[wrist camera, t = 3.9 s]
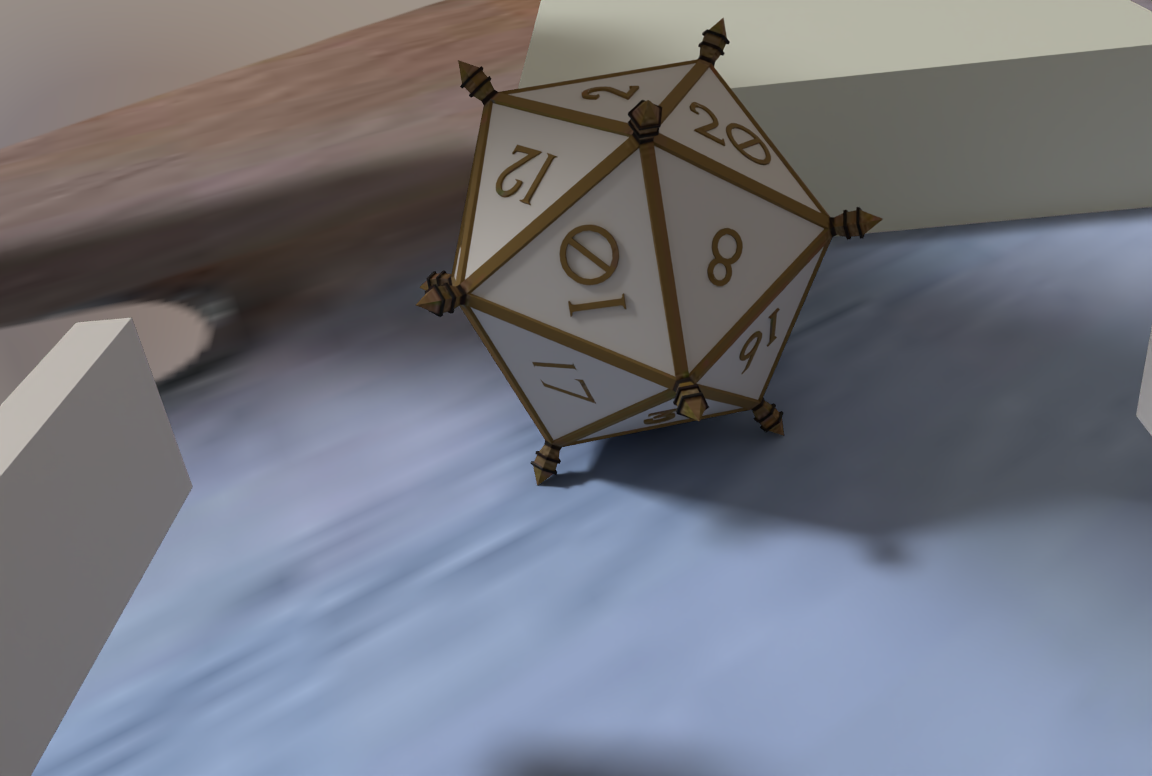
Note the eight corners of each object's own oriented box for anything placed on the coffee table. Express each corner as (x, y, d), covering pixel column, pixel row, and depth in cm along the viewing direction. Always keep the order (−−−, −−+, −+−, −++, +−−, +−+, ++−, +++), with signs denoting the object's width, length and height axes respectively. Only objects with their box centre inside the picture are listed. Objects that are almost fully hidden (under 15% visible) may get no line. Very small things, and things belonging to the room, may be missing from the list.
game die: (687, 505, 27) (844, 124, 26) (800, 630, 19) (1034, 80, 18) (344, 379, 26) (497, -29, 25) (301, 455, 17) (530, -156, 16)
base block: (536, 278, 32) (512, 111, 30) (560, 100, 48) (546, -20, 45) (1172, 220, 31) (1204, 39, 28) (984, 56, 46) (994, -70, 44)
